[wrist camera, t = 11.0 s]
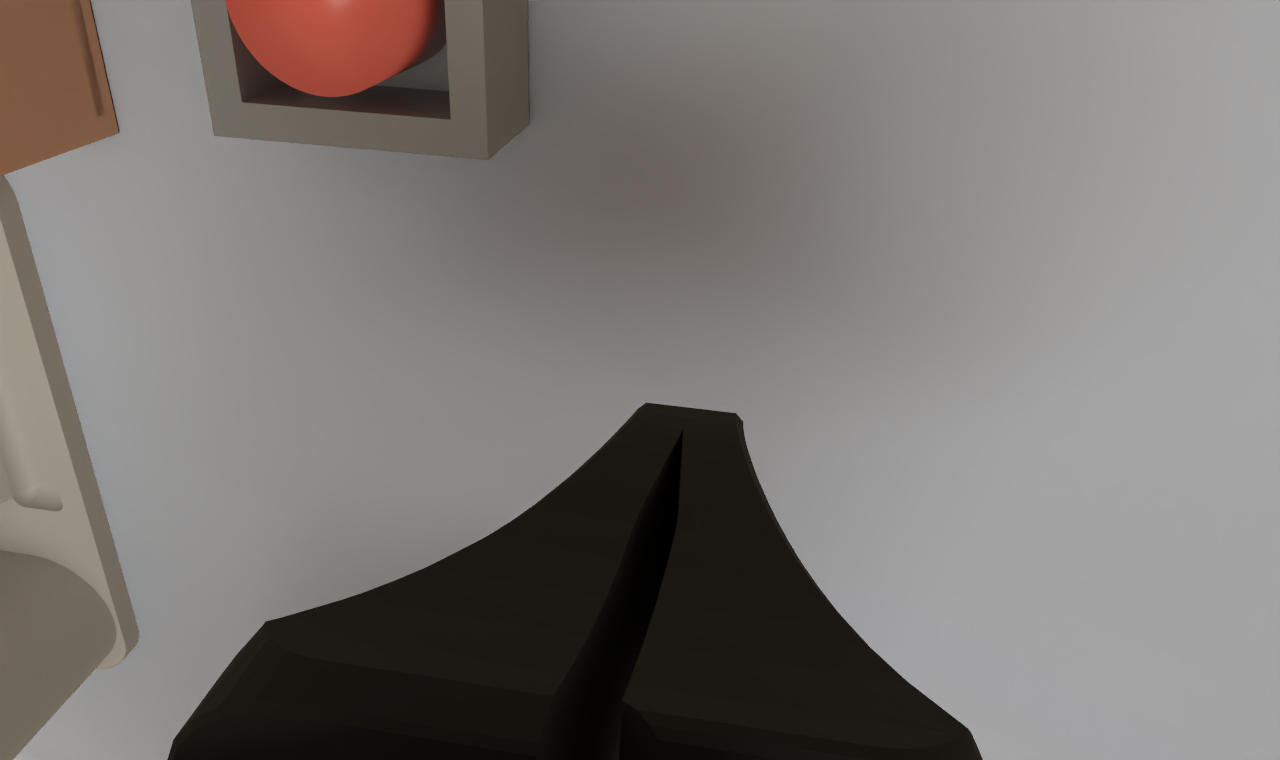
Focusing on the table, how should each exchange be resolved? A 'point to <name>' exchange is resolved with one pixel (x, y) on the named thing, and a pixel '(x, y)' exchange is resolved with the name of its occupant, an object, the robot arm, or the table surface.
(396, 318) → the table surface
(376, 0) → the button
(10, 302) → the phone holder
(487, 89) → the button base
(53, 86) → the pen cup
